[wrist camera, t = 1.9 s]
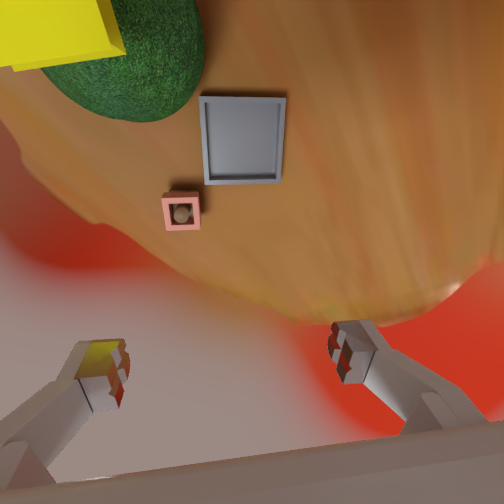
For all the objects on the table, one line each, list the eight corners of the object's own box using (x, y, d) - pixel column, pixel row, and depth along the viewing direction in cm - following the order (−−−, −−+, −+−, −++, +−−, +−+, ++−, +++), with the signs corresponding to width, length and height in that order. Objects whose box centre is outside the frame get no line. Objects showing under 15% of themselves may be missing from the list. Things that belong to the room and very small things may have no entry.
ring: (198, 191, 48) (197, 197, 46) (201, 222, 51) (200, 229, 49) (164, 192, 48) (161, 198, 45) (168, 223, 51) (166, 230, 48)
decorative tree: (217, 109, 45) (223, 127, 19) (100, 128, 44) (-56, 173, 18) (187, -57, 35) (117, -474, 9) (37, -36, 34) (-486, -427, 9)
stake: (196, 189, 51) (194, 202, 45) (199, 214, 54) (197, 229, 48) (169, 190, 51) (163, 202, 45) (173, 215, 53) (168, 230, 47)
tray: (281, 97, 45) (286, 97, 43) (276, 179, 52) (280, 183, 49) (199, 96, 44) (198, 96, 41) (205, 180, 50) (204, 184, 48)
